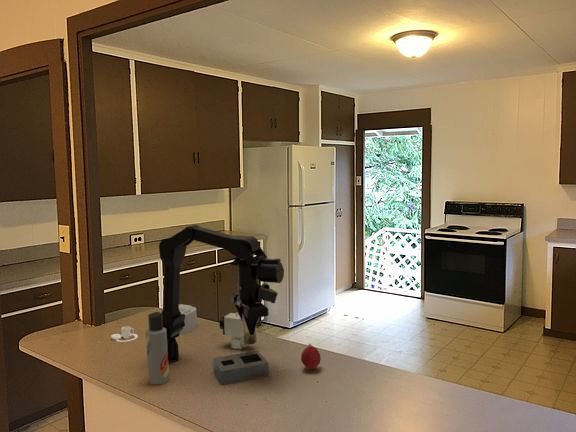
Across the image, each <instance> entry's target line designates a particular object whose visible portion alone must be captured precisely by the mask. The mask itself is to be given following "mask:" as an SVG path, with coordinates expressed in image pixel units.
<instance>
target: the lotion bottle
mask: <svg viewBox="0 0 576 432" xmlns="http://www.w3.org/2000/svg"><path fill="white" fill-rule="evenodd" d="M147 318H148V319H147V320H148V329H146V330H145V339H146V340H145V343H146V358H147V360H146V361H147V372H148V373H147V374H148V382H149V384H151V385H154V386H155V385H157V386H158V385H163V384H165V383H167V382H169V380H170V372H169V362H168V350H167V332H166V328H164V327H163V320H162V314H161V312H160V311H154V312H151V313H148V315H147Z"/></svg>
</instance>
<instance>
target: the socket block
mask: <svg viewBox="0 0 576 432" xmlns="http://www.w3.org/2000/svg"><path fill="white" fill-rule="evenodd" d="M212 359H213V361H212V362H213V372H214V374H215V376H216V378H217V380H218V381H219V384H220V385H221V386H222V385H228V384H234V383H239V382H245V381H250V380H255V379H260V378H265V377H269V372H270V371H269V362H268V360H267V359H266V358H265V357H264V355H262V353H261V352H260V351H259V350H254V351H247V352H242V353H236V354H235V353H234V354H231V355H230V354H228V355H222V356H218V357H213V358H212Z"/></svg>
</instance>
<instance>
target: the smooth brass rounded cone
mask: <svg viewBox="0 0 576 432" xmlns="http://www.w3.org/2000/svg"><path fill="white" fill-rule="evenodd" d="M242 313H244V311H243V312H242ZM242 320H243V343H244V344H247V345H254V344H256V343H257V341H258V338H257V327H256V328H255V332H254V334H253V335H250V333H249V331H248V328H247V326H246V323H245V321H244V318H243V316H242Z"/></svg>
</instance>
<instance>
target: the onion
mask: <svg viewBox="0 0 576 432" xmlns="http://www.w3.org/2000/svg"><path fill="white" fill-rule="evenodd" d="M321 357H322V356H321V354H320V352H319V350H318V349H317V347H315V346H313V345H312V343H308V346H306V347H305V348H304V349H303V350H302V352H301V357H300V362H301V363H302V365H303V366H304V367H305V368H307V369H308V370H310V371H312V370H314V369H315V368H317V366H319V365H320V363H321Z"/></svg>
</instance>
